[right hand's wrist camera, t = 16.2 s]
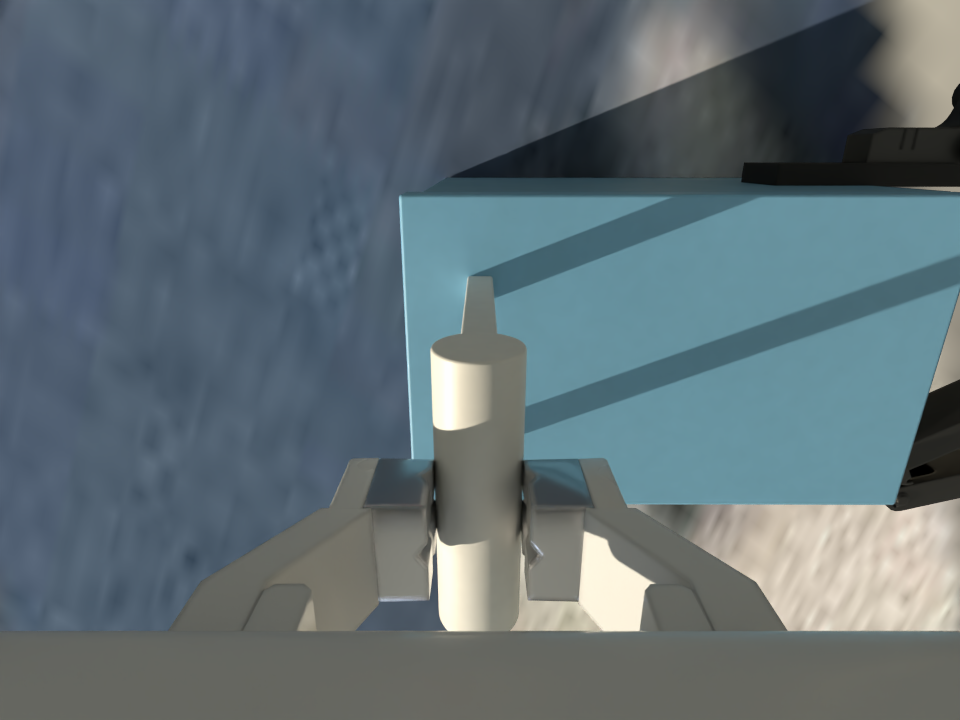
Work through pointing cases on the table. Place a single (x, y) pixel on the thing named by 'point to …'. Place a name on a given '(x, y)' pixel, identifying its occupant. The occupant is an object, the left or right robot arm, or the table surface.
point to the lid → (664, 353)
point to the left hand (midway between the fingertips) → (735, 312)
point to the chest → (637, 185)
